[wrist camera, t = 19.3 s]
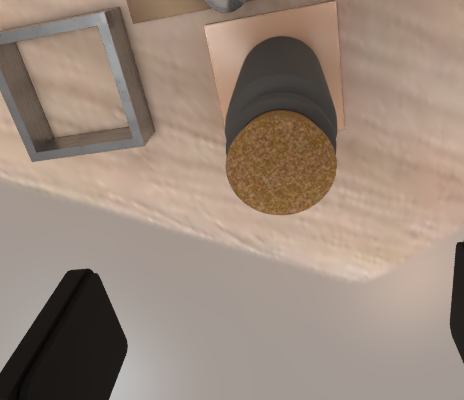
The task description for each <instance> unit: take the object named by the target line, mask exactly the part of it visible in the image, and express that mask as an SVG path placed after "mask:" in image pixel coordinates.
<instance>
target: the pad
mask: <svg viewBox="0 0 464 400" xmlns="http://www.w3.org/2000/svg"><path fill="white" fill-rule="evenodd" d="M204 29H205V34H206V39H207V43H208V48H209V53H210V58H211V63H212V68H213V73H214V78H215V83H216V88H217V93H218V97H219V102H220V107H221V112H222V117H223V122H224V127H225V120H226V114H227V111H228V107H229V103H230V100H231V97H232V94H233V91H234V88H235V85H236V82H237V79H238V76H239V73H240V70H241V67H242V65H243V62H244V60H245V58H246V56H247V55H248V54H249V52H250V51H251V50H252V49H253V48H254V47H255V46H256V45H257V44H259V43H260V42H262V41H264V40H266V39H268V38H272V37H277V36H287V37H292V38H295V39H298V40H300V41H302V42H304V43H305V44H306V45H308V46H309V47H310V48H311V49H312V50H313V52H314V53H315V55H316V56H317V58H318V60H319V62H320V65H321V68H322V70H323V73H324V76H325V79H326V82H327V85H328V88H329V91H330V94H331V97H332V100H333V103H334V107H335V110H336V115H337V127H338V129H337V131H338V130H345V129H344V113H343V98H342V82H341V67H340V51H339V36H338V20H337V4H336V0H334V1H329V2H324V3H318V4H313V5H308V6H302V7H297V8H292V9H287V10H281V11H276V12H271V13H265V14H260V15H255V16H249V17H244V18H239V19H233V20H228V21H223V22H218V23H212V24H207V25H205V26H204Z"/></svg>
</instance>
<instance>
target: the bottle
mask: <svg viewBox="0 0 464 400" xmlns="http://www.w3.org/2000/svg"><path fill="white" fill-rule="evenodd" d="M337 129H338V127H337V115H336V110H335V107H334V103H333V100H332V97H331V94H330V91H329V88H328V85H327V82H326V79H325V76H324V73H323V70H322V68H321V65H320V62H319V60H318V58H317V56H316V55H315V53H314V52H313V50H312V49H311V48H310V47H309V46H308V45H306V44H305V43H304V42H302V41H300V40H298V39H295V38H292V37H287V36H277V37H272V38H268V39H266V40H264V41H262V42H260V43H259V44H257V45H256V46H255V47H254V48H253V49H252V50H251V51H250V52H249V54H248V55H247V56H246V58H245V60H244V62H243V65H242V67H241V70H240V73H239V76H238V79H237V82H236V85H235V88H234V91H233V94H232V97H231V100H230V103H229V107H228V111H227V114H226V120H225V135H226V140H227V141H226V155H227V158H226V173H227V177H228V181H229V183H230V185H231V187H232V189H233V191H234V192H235V194H236V195H237V196H238V197H239V198H240V199H241V200H242V201H243V202H244V203H245V204H247V205H248V206H250V207H251V208H253V209H255V210H257V211H260V212H263V213H267V214H273V215H289V214H295V213H299V212H301V211H304V210H306V209H308V208H310V207H312V206H313V205H315V204H316V203H318V202H319V201H320V200H321V199H322V198H323V197H324V196H325V195H326V193H327V192H328V191H329V189H330V187H331V186H332V184H333V181H334V178H335V175H336V168H337V161H336V135H337Z"/></svg>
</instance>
